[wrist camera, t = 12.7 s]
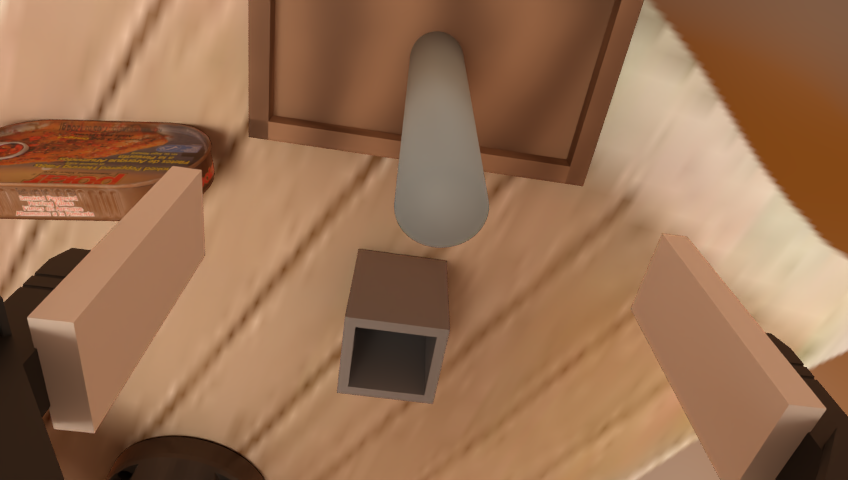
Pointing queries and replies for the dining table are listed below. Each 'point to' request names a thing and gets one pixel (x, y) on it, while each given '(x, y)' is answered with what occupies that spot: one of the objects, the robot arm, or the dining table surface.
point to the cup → (395, 327)
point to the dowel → (439, 149)
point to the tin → (92, 166)
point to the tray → (485, 67)
